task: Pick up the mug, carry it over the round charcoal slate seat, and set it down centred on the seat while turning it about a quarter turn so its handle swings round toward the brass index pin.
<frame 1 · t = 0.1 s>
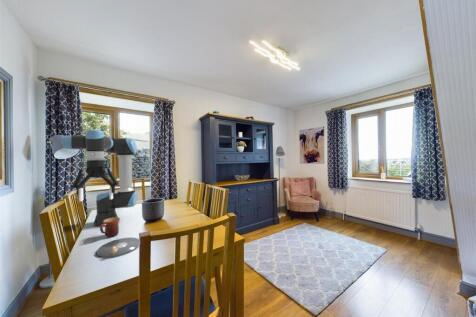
hand: (96, 200, 97), 28 cm above the table, fingers open, 13 cm apart
mug: (109, 236, 116), on the table
seat disc: (119, 247, 102), on the table
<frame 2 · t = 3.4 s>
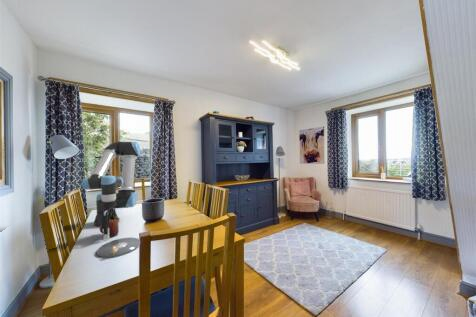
hand: (109, 235, 116), 1 cm above the table, fingers closed on mug, 10 cm apart
mug: (109, 237, 116), on the table, touching gripper
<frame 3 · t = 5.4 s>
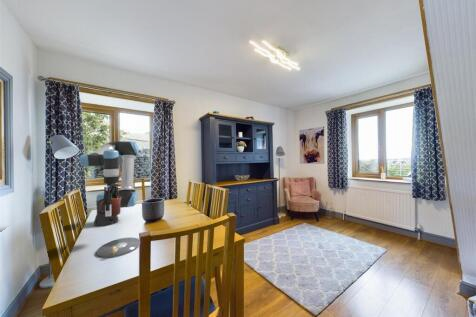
hand: (111, 213, 110), 17 cm above the table, fingers closed on mug, 9 cm apart
mug: (110, 216, 109), point 15 cm above the table, touching gripper
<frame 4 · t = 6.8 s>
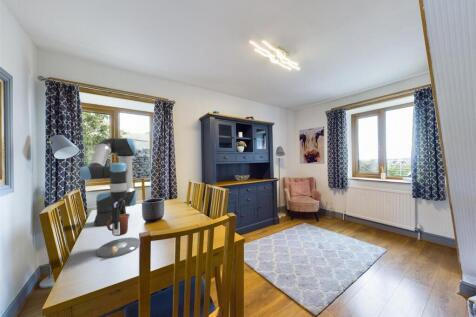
hand: (119, 231, 102), 9 cm above the table, fingers closed on mug, 9 cm apart
mug: (117, 235, 101), point 7 cm above the table, touching gripper
when the fingers open (3 cm above the table, at t = 8.2 s): mug stays where it is, resting on seat disc.
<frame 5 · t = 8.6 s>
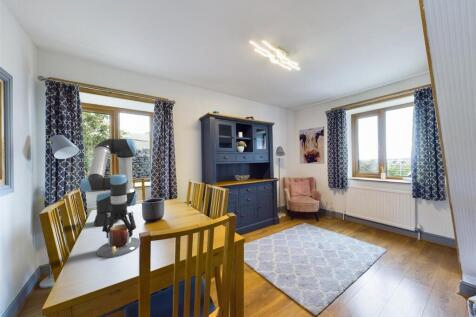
hand: (119, 242, 102), 3 cm above the table, fingers open, 9 cm apart
mug: (121, 246, 101), point 1 cm above the table, touching gripper, seat disc
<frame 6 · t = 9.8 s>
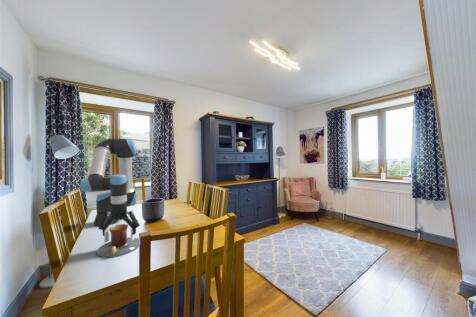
hand: (119, 240, 102), 4 cm above the table, fingers open, 13 cm apart
mug: (120, 246, 101), point 1 cm above the table, touching seat disc
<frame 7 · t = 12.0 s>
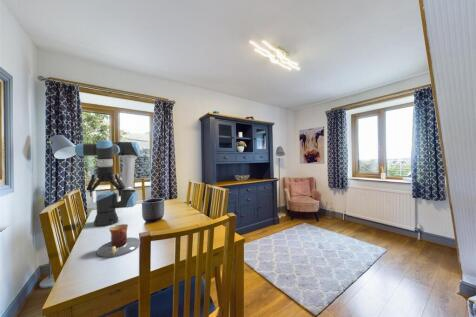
hand: (106, 201, 110), 24 cm above the table, fingers open, 13 cm apart
nothing on the table moved.
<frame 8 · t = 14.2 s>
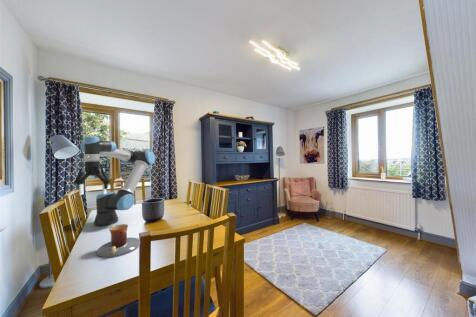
hand: (93, 194, 117), 27 cm above the table, fingers open, 13 cm apart
nothing on the table moved.
at the end: mug 1.3 cm from the seat disc (horizontally); mug tilted 0°; mug touching seat disc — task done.
